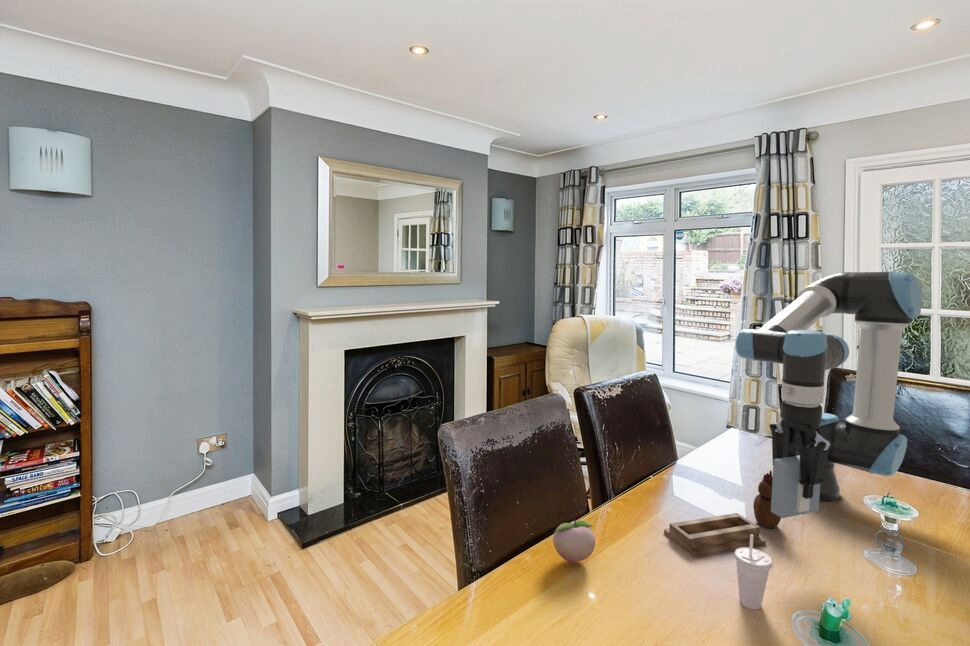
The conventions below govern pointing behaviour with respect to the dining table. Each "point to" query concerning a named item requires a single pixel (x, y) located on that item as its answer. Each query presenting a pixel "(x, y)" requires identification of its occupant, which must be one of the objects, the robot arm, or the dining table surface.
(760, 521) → the wooden figurine
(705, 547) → the wooden tray
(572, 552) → the decorative fruit
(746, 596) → the smoothie
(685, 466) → the dining table surface
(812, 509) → the gray rectangular block
